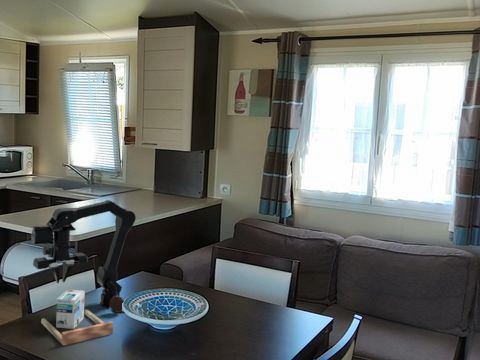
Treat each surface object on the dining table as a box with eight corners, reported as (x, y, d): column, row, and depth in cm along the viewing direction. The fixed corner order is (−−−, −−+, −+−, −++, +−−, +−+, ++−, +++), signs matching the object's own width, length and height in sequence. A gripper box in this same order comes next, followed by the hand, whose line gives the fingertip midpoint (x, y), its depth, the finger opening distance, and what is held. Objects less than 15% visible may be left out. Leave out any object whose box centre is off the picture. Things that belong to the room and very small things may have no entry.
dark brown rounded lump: (131, 308, 195) (131, 290, 194) (123, 315, 187) (123, 297, 186) (112, 305, 196) (113, 288, 195) (103, 313, 188) (104, 294, 188)
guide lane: (87, 313, 187) (88, 303, 186) (112, 333, 171) (113, 322, 170) (41, 323, 175) (41, 312, 175) (63, 345, 159) (63, 334, 159)
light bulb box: (74, 329, 172) (75, 300, 171) (55, 328, 172) (56, 298, 171) (84, 317, 183) (85, 290, 181) (66, 316, 183) (67, 288, 182)
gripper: (77, 235, 194) (76, 273, 196) (28, 240, 182) (28, 280, 184) (88, 241, 186) (87, 281, 188) (38, 247, 174) (37, 289, 176)
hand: (60, 282), depth 184 cm, fingers closed
